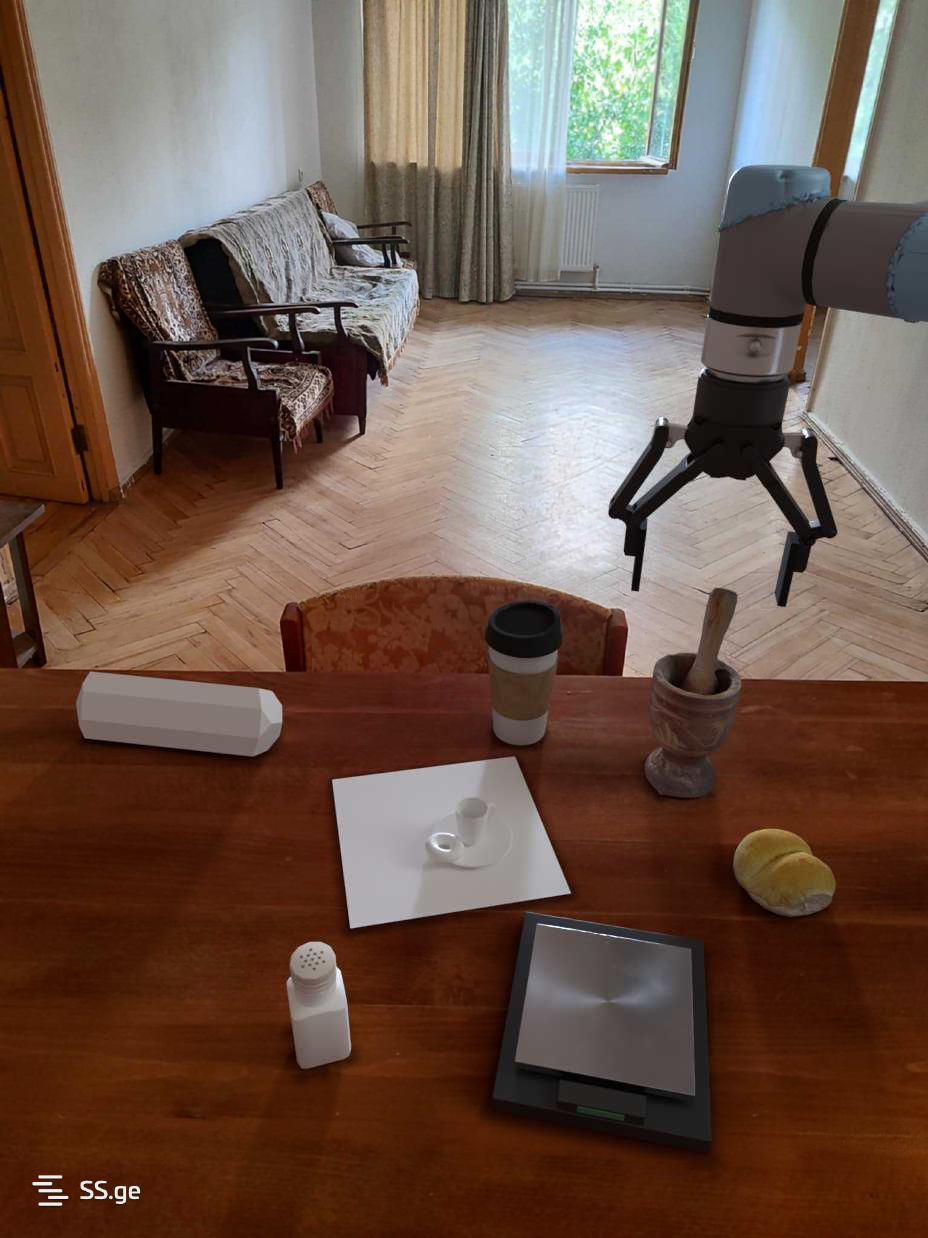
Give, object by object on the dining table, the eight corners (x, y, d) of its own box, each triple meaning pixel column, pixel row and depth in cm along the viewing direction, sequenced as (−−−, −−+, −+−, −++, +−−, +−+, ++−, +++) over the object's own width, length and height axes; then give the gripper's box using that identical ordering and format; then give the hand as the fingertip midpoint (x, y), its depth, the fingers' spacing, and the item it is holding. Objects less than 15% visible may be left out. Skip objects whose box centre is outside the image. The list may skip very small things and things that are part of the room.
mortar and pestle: (638, 731, 101) (659, 575, 91) (715, 738, 100) (745, 582, 90) (639, 798, 91) (663, 632, 81) (725, 807, 90) (760, 640, 80)
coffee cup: (571, 735, 100) (581, 621, 93) (511, 762, 96) (517, 644, 89) (525, 700, 106) (531, 590, 99) (468, 723, 102) (469, 610, 95)
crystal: (50, 722, 95) (263, 745, 92) (73, 663, 99) (280, 683, 95) (80, 748, 101) (281, 771, 98) (102, 692, 105) (296, 712, 102)
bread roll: (787, 839, 86) (795, 808, 84) (846, 907, 79) (857, 875, 77) (712, 856, 84) (719, 824, 82) (766, 928, 77) (774, 896, 75)
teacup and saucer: (430, 878, 81) (429, 845, 79) (416, 819, 88) (415, 787, 86) (521, 864, 83) (523, 832, 81) (501, 807, 90) (502, 776, 88)
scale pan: (690, 955, 72) (691, 948, 71) (693, 1102, 61) (695, 1096, 61) (536, 929, 74) (536, 923, 74) (514, 1068, 63) (514, 1061, 63)
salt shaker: (352, 1060, 66) (345, 976, 61) (299, 1074, 65) (287, 990, 60) (343, 1014, 69) (336, 931, 64) (292, 1027, 68) (280, 943, 63)
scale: (700, 952, 75) (705, 933, 73) (708, 1154, 60) (713, 1134, 59) (524, 923, 77) (526, 904, 76) (491, 1110, 63) (492, 1090, 61)
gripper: (593, 372, 73) (573, 596, 84) (913, 393, 69) (849, 626, 80) (599, 351, 80) (580, 562, 90) (892, 369, 75) (836, 587, 86)
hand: (706, 592), depth 85 cm, fingers open, 13 cm apart
